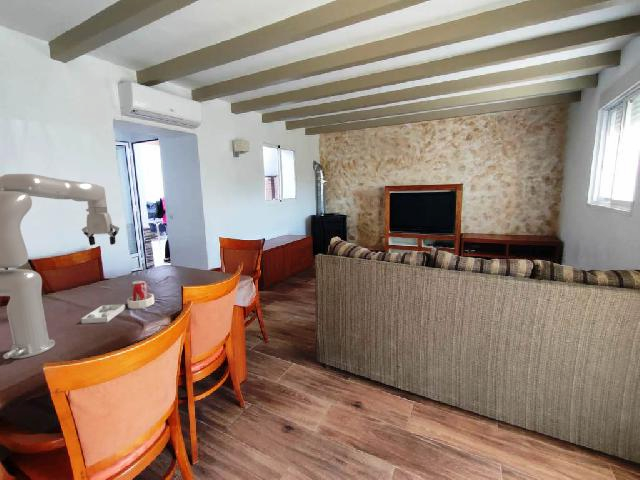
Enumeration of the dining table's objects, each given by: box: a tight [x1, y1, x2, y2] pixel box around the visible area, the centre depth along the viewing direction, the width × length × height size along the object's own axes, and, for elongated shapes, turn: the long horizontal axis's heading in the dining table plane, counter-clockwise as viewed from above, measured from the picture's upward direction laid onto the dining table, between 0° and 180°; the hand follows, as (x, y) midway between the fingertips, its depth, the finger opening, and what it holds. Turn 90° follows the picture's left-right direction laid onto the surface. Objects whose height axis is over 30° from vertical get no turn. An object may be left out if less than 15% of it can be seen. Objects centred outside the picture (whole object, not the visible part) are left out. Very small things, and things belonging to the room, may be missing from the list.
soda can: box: [130, 279, 149, 301], centre depth 157 cm, size 7×7×12 cm
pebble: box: [102, 304, 110, 311], centre depth 149 cm, size 3×3×3 cm
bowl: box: [126, 292, 155, 310], centre depth 158 cm, size 12×12×4 cm
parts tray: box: [80, 303, 126, 325], centre depth 144 cm, size 16×11×2 cm
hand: (102, 244), depth 152 cm, fingers open, 9 cm apart
